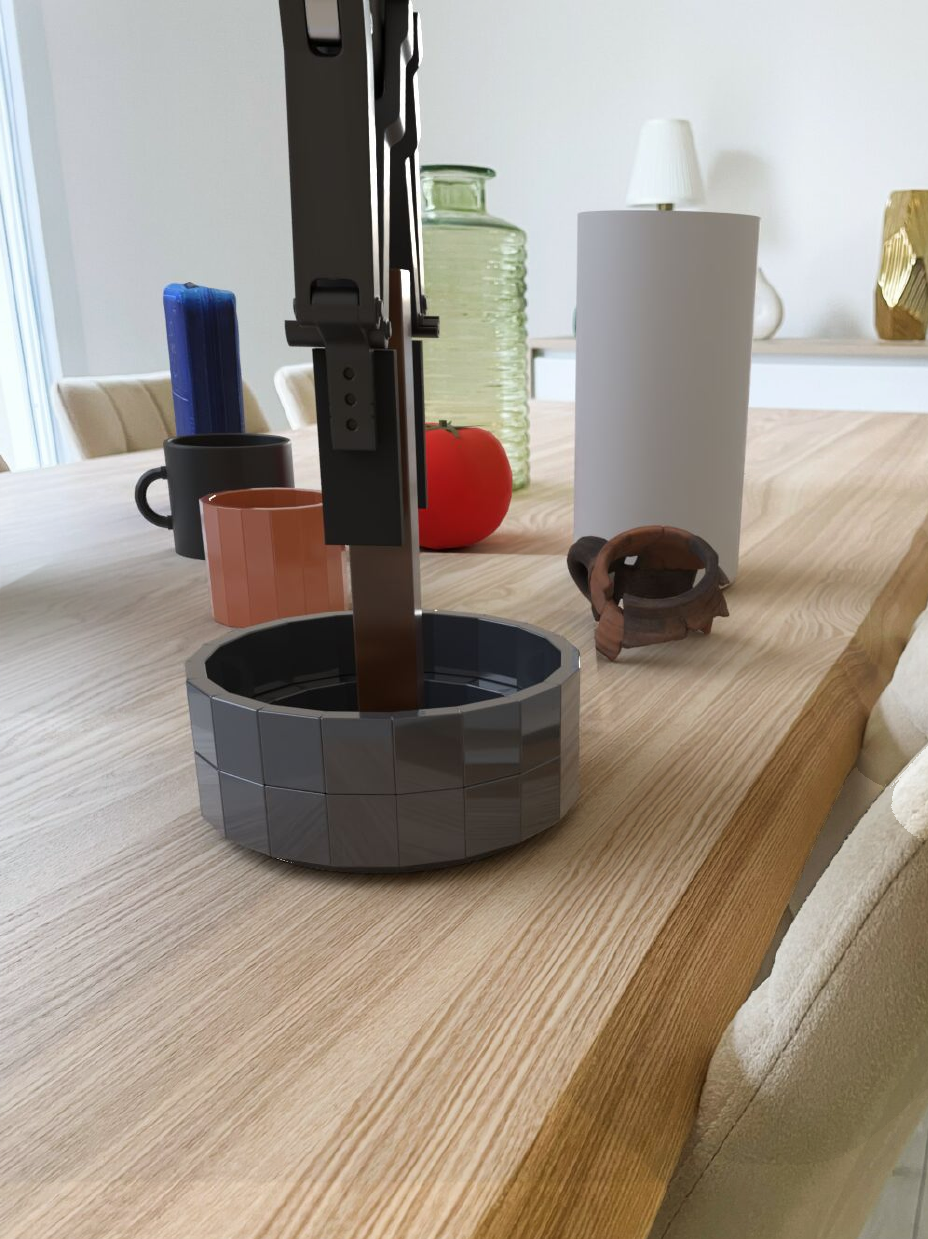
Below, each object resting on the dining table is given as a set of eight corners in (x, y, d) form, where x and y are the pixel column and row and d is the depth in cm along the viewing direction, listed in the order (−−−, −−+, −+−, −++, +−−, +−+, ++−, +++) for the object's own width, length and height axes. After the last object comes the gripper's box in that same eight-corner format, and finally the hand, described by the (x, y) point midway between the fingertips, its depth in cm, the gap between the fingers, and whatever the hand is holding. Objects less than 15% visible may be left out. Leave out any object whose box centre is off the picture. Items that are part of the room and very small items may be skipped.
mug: (153, 547, 99) (139, 432, 95) (303, 545, 101) (295, 433, 97) (131, 572, 90) (115, 447, 87) (296, 570, 92) (286, 447, 89)
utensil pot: (197, 641, 74) (182, 508, 70) (232, 607, 81) (220, 486, 78) (336, 643, 74) (327, 510, 71) (358, 610, 82) (351, 489, 78)
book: (177, 501, 120) (153, 281, 112) (233, 499, 122) (212, 282, 114) (198, 526, 108) (172, 282, 100) (259, 523, 110) (238, 284, 102)
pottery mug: (756, 645, 78) (764, 546, 71) (671, 738, 73) (670, 642, 67) (608, 571, 82) (602, 473, 76) (519, 655, 78) (504, 558, 71)
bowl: (150, 885, 44) (127, 715, 41) (253, 738, 58) (240, 605, 56) (579, 888, 44) (582, 721, 42) (576, 742, 59) (578, 611, 56)
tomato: (371, 533, 107) (364, 411, 102) (499, 530, 109) (498, 411, 105) (385, 561, 96) (378, 426, 92) (526, 557, 99) (526, 426, 95)
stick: (363, 797, 50) (331, 267, 42) (372, 775, 52) (343, 268, 44) (421, 797, 50) (401, 269, 42) (428, 776, 52) (409, 269, 44)
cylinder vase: (765, 577, 94) (792, 220, 84) (684, 607, 84) (704, 209, 74) (629, 556, 100) (639, 221, 90) (540, 582, 91) (540, 211, 81)
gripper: (431, -375, 29) (456, 583, 38) (485, -115, 47) (492, 486, 56) (111, -390, 28) (212, 579, 37) (291, -122, 47) (330, 483, 56)
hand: (380, 522), depth 47 cm, fingers open, 7 cm apart
